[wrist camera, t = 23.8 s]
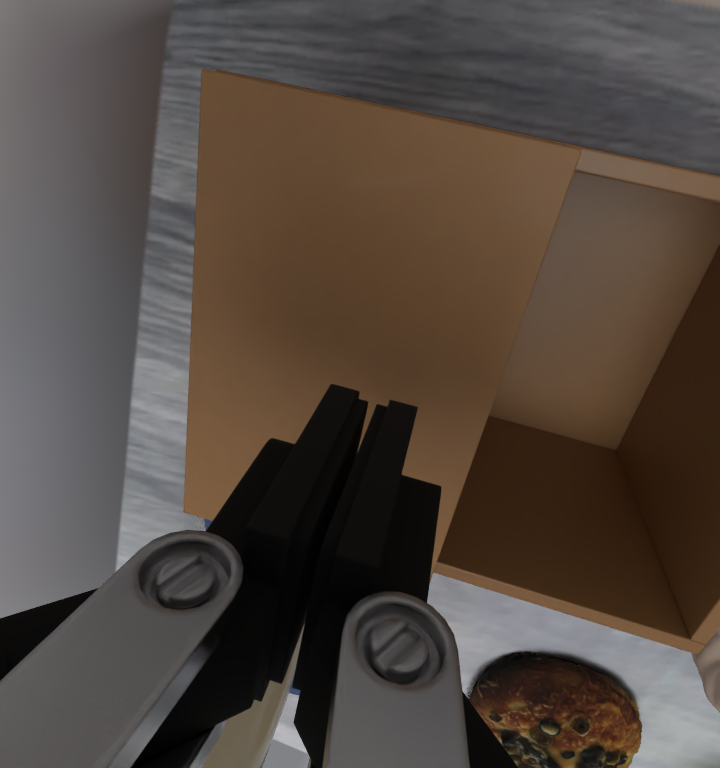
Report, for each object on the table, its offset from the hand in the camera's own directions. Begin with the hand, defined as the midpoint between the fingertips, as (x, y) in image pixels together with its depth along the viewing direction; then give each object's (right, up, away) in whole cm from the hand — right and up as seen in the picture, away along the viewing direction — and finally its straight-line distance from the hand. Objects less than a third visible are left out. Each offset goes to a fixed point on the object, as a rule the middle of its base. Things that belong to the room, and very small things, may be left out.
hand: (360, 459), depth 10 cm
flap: (-1, +2, +4) cm, 5 cm away
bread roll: (+13, -20, +25) cm, 35 cm away
